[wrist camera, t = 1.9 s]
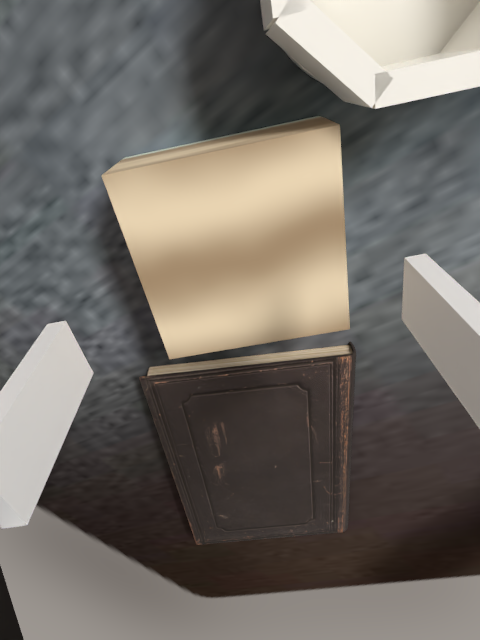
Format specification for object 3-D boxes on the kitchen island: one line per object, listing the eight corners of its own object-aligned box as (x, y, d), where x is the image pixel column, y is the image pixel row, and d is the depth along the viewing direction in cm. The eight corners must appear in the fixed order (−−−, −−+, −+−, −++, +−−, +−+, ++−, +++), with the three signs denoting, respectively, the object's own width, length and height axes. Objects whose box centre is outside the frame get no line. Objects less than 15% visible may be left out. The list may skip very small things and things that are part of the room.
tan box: (334, 296, 26) (349, 328, 23) (177, 323, 27) (169, 359, 24) (321, 116, 20) (339, 124, 17) (122, 159, 21) (101, 175, 18)
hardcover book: (198, 523, 43) (196, 545, 41) (145, 360, 30) (139, 379, 28) (344, 510, 42) (349, 531, 40) (350, 337, 29) (358, 355, 28)
